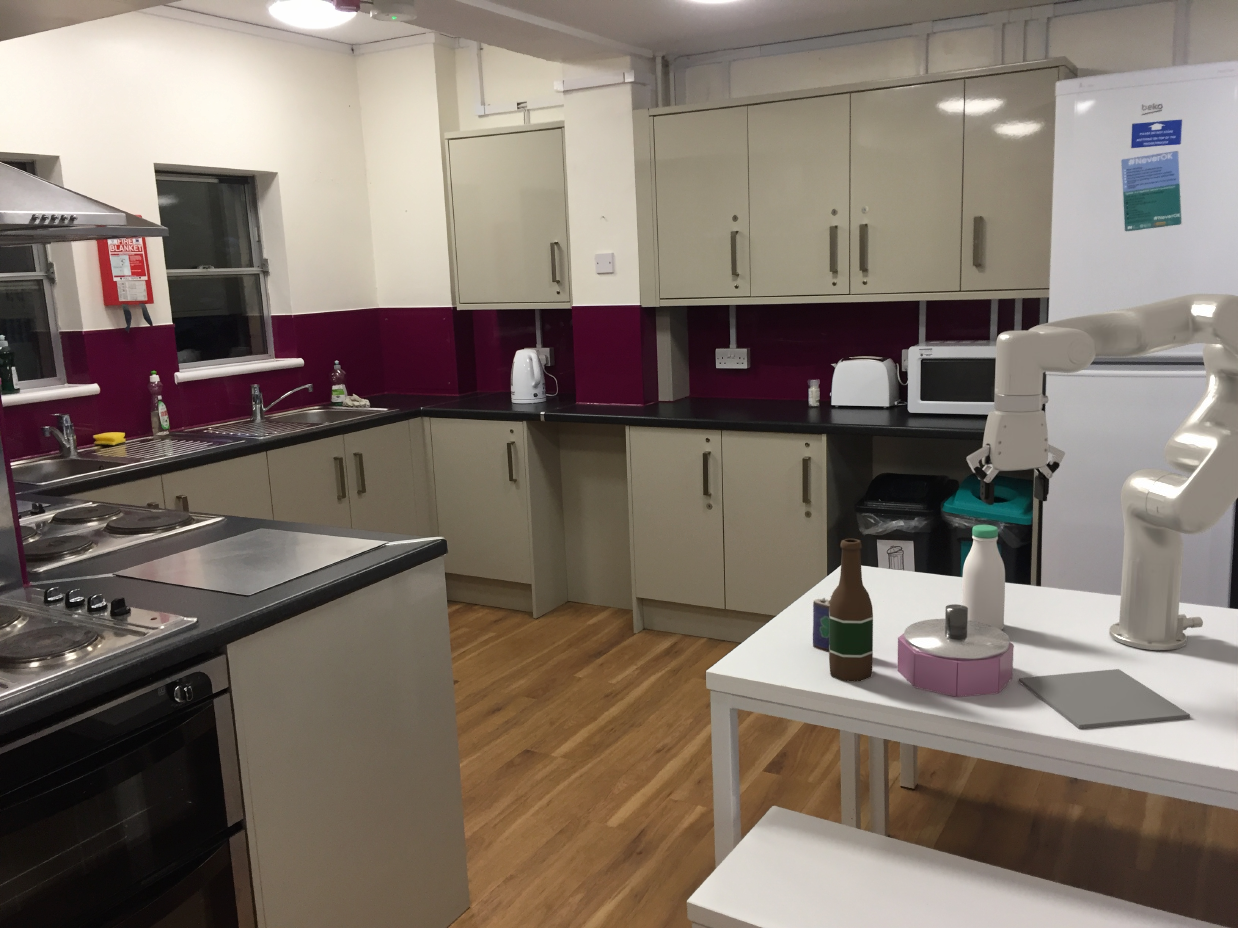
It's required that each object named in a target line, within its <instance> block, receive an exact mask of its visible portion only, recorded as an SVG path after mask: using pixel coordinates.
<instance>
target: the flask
mask: <svg viewBox="0 0 1238 928" xmlns="http://www.w3.org/2000/svg"><path fill="white" fill-rule="evenodd" d="M831 596H832V594H831V595H830V597H831ZM812 603H813V605H812V608H813V609H812V613H813V614H812V616H813V617H812V618H813V619H812V624H813V625H812V647H813V648H815V649H817V650H819V651H824V652H828V653H829V606H830V599H827V598H826V597H823V598H817V599H814V600H813V602H812Z"/></svg>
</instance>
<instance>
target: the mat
mask: <svg viewBox="0 0 1238 928" xmlns="http://www.w3.org/2000/svg"><path fill="white" fill-rule="evenodd" d="M1017 679H1018V681H1017V682H1019V683H1020V685H1022V686H1024V687H1025V688H1026V689H1027V690H1028V691H1030V692H1031V693H1033V695H1035V696H1036V697H1038V698H1039V699H1040V700H1041V701H1043V702H1044V703H1045V704H1046V705H1048V706H1049V707H1050V708H1052V709H1053V710H1054V711H1056V712H1057V713H1058V714H1060V715H1061V716H1062V717H1063V718H1065V720H1067V721H1068V722H1069V723H1071V724H1072V725H1073V726H1074V727H1076V728H1077V729H1078V730H1079V729H1091V728H1099V727H1100V728H1101V727H1110V726H1111V727H1112V726H1119V725H1121V726H1122V725H1131V724H1141V723H1153V722H1163V721H1173V720H1181V719H1182V720H1184V719H1190V717H1191V713H1189V712H1187V711H1186V710H1184V709H1182V708H1181V707H1179V706H1178V705H1176V704H1174V703H1173V702H1171V701H1169V699H1167V698H1165V697H1163V696H1162V695H1160V694H1159V693H1157V692H1155V691H1154V690H1153V689H1151V688H1150V687H1148V686H1147V685H1144V684H1143V683H1141V682H1140V681H1139V680H1137V679H1135V678H1133V677H1132V676H1130V675H1129V674H1128V673H1126V672H1124V671H1123V670H1121V669H1120V668H1115V669H1103V670H1093V671H1082V672H1070V673H1061V674H1059V673H1058V674H1048V675H1036V676H1028V677H1027V676H1026V677H1024V676H1023V677H1018V678H1017Z"/></svg>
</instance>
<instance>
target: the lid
mask: <svg viewBox="0 0 1238 928" xmlns="http://www.w3.org/2000/svg"><path fill="white" fill-rule="evenodd" d="M944 612H945V617H944V618H933V619H925V620H920V621H917V622H915V623H914V622H913V623H912V624H909V625H908V626H907V627H906V628H905V629H904V640H905V642H906V644H907V645H908V646H910V647H911V648H912V649H914V650H916V651H918V652H921V653H923V654H926V655H930V656H933V657H938V658H943V659H950V660H965V661H968V660H984V659H990V658H994V657H997V656H1000V655H1002V654H1004V653H1005V652H1007V650H1008V649H1009V642H1010V637H1009V636H1008V635H1007V633H1005V632H1004V631H1003V630H999V629H997V628H995V627H993V626H990V625H987V624H984V623H980V622H975V621H969V620H968V608H967V607H966V606H963V605H962V604H948V605H946V606H945V611H944Z"/></svg>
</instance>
